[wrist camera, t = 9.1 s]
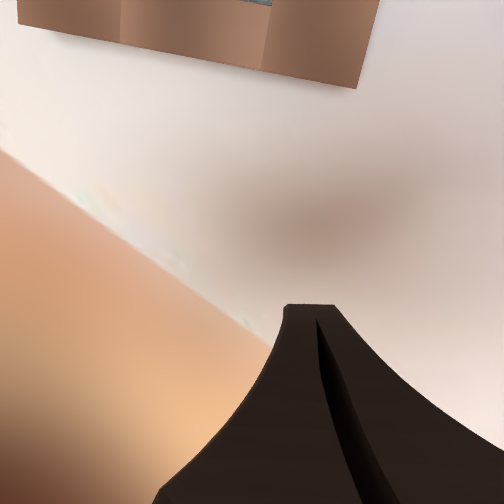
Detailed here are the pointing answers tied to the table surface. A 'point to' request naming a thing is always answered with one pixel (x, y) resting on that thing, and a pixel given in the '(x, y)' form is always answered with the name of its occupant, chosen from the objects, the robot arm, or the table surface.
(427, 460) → the robot arm
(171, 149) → the table surface
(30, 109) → the table surface
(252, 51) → the walnut panel
